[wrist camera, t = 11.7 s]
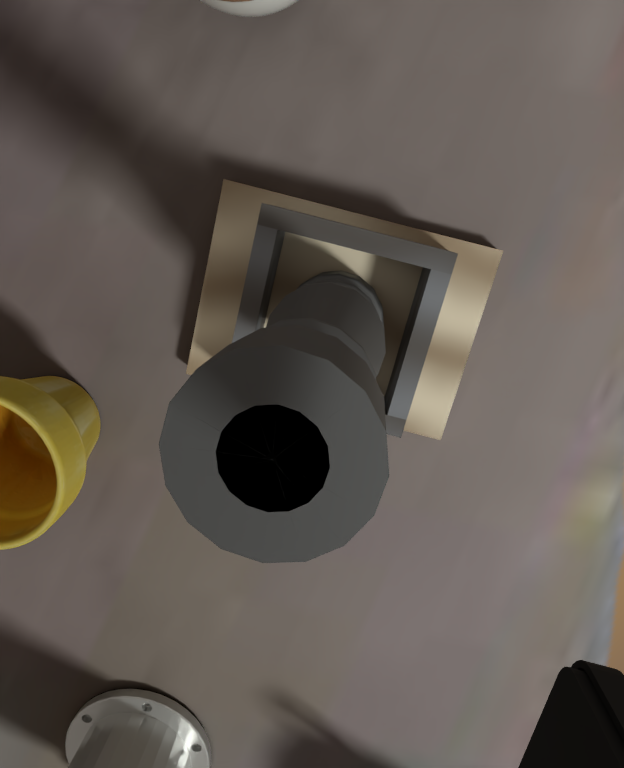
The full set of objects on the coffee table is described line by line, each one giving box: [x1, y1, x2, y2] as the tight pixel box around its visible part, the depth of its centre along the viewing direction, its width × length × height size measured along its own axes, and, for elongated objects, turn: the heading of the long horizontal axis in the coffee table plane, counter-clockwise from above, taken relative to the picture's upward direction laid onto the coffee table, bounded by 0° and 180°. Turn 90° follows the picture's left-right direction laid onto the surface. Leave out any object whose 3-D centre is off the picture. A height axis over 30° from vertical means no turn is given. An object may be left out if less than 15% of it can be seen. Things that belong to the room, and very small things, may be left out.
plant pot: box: [0, 376, 100, 550], centre depth 39 cm, size 10×10×10 cm
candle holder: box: [159, 270, 389, 563], centre depth 26 cm, size 6×6×25 cm
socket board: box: [186, 179, 503, 440], centre depth 37 cm, size 13×18×6 cm
